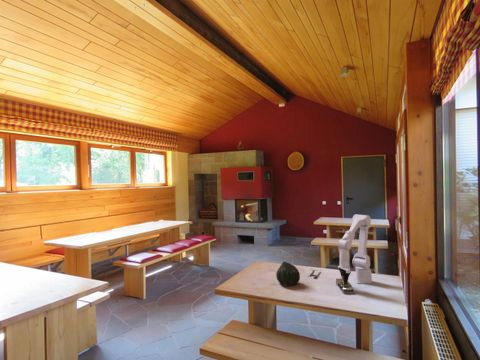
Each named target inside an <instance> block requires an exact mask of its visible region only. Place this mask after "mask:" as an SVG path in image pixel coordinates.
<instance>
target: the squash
mask: <svg viewBox="0 0 480 360" xmlns="http://www.w3.org/2000/svg"><path fill="white" fill-rule="evenodd" d="M300 274H301V273H300V271H299V269H298V268H297V267H296V266H295V265H293V264H291V263H290V262H287V261H283V262H282V263H281V264H280V266H279V267H278V268H277V271H276V273H275V276H276V280H277V281H278V282H279V284H281V286H285V287H289V286H293V285H297V284H298V283H299V281H300V279H301V275H300Z"/></svg>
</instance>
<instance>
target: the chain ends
mask: <svg viewBox="0 0 480 360" xmlns="http://www.w3.org/2000/svg"><path fill="white" fill-rule="evenodd" d="M335 285H336V286H337V287H338V289H339V290H340V291H341V292H342V294H343V295H355V288H354V287H352V286H353V285H352V284H351V283H350V282H349V281H348V282H347V284H343V281H342V278H335Z"/></svg>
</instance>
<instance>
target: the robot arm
mask: <svg viewBox="0 0 480 360" xmlns="http://www.w3.org/2000/svg"><path fill="white" fill-rule="evenodd" d="M371 223H372V219H371V216H370V215H369V214H356V213H355V214H354V215H353V216H352V224H351V225H350V228H349V230H346V231H345V233H344V235H343V236H342V238H341V239H339V240H338V241H337V248H338V252H339V265H338V266H337V268H338V271H339V273H340V276H341V277H340V278H342V276H343V280H342V281H344V282H349V278H350V276H351V273H352V271H351V269H350V268H351V266H350V250H351V248H352V245H353V240H354V239H355V236H356V234H355V233H356V232H357V231H358V230H359V237H358V246H357V252H356V253H355V254H353V258H352V265H353V267H354V268H355V278H353V281H354V282H355V283H356V284H373V280H372V278H373V277H372V275H373V273H372V269H371V268H370V266H371V257H370V255H368V254H367V247H368V238H369V237H368V235H369V229H370V228H371ZM358 228H359V229H358Z"/></svg>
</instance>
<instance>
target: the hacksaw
mask: <svg viewBox="0 0 480 360" xmlns="http://www.w3.org/2000/svg"><path fill="white" fill-rule="evenodd" d="M310 270H311V273H310V274H309V277H312V278H313V279H315V280H317V278H318V277H319V276H320V275H321V273H322V272H321V271H322V270H318V269H317V270H316V269H314V268H311V269H310ZM315 271H318V274H317V275H315V274H314V273H315Z"/></svg>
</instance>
